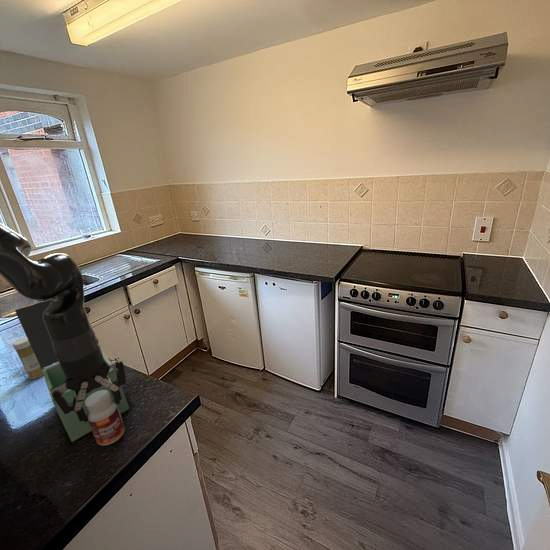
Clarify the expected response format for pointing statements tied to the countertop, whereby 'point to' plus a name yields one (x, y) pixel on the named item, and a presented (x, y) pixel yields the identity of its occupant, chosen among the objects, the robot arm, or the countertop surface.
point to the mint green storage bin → (71, 420)
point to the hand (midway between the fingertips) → (101, 410)
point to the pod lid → (37, 332)
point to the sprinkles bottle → (28, 358)
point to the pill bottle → (104, 417)
